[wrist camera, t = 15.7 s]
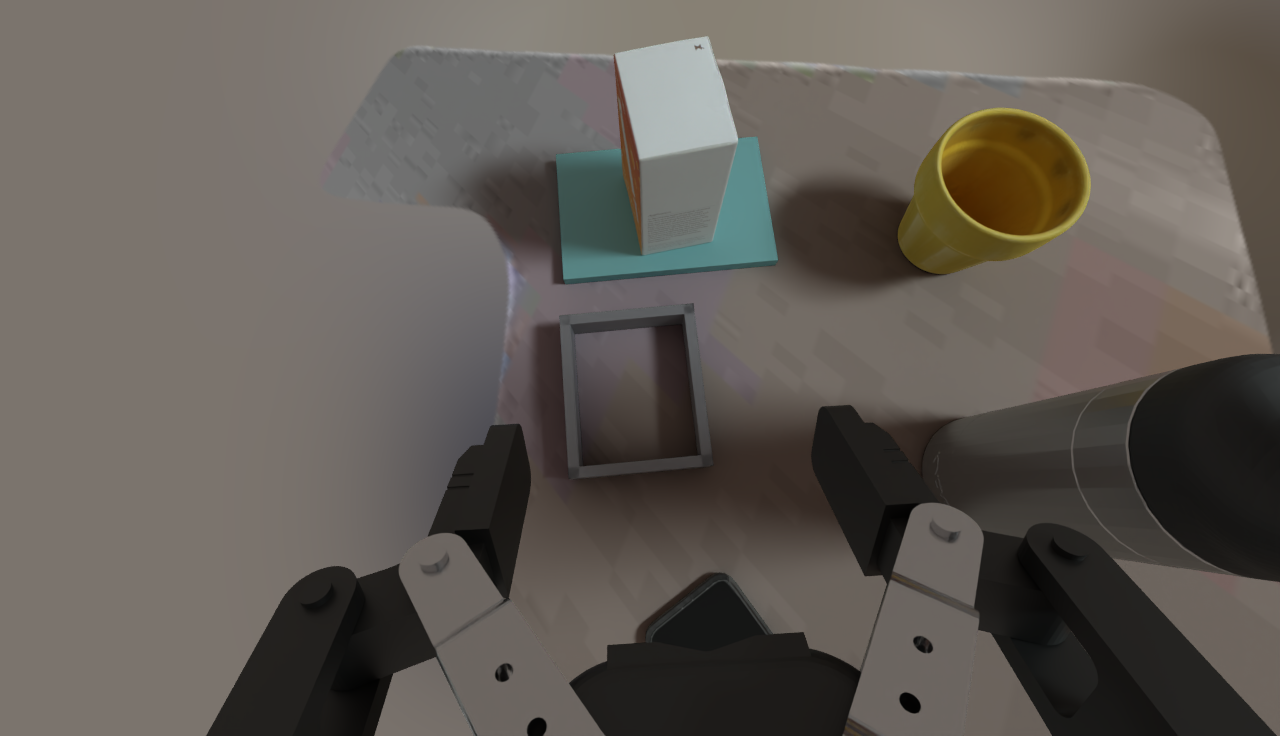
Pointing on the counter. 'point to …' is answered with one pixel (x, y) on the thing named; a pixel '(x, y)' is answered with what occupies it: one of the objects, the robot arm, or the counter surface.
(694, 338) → the tray frame
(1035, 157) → the plant pot
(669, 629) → the phone
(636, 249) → the board
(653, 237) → the small box
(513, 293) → the counter surface
